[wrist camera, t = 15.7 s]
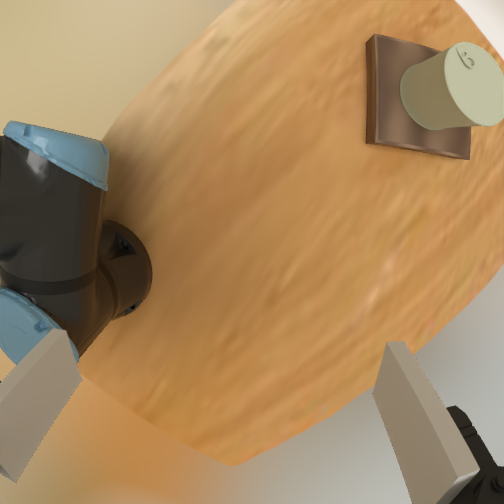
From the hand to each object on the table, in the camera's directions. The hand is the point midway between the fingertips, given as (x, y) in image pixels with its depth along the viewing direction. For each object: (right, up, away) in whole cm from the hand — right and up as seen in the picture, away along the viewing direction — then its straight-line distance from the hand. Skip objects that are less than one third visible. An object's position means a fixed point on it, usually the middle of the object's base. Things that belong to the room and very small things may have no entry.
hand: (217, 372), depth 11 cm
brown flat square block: (+24, +26, +25) cm, 43 cm away
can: (+24, +25, +21) cm, 41 cm away
